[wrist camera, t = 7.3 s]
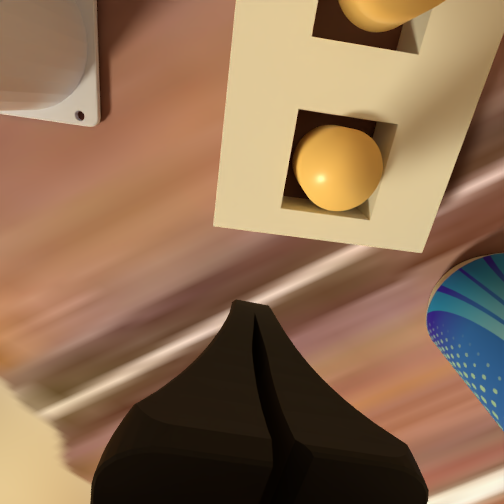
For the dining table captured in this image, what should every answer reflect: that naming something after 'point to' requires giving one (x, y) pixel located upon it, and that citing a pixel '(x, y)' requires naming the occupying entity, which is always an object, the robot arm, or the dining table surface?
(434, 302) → the beer can
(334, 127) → the button
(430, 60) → the board
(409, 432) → the dining table surface
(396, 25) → the button
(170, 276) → the dining table surface
